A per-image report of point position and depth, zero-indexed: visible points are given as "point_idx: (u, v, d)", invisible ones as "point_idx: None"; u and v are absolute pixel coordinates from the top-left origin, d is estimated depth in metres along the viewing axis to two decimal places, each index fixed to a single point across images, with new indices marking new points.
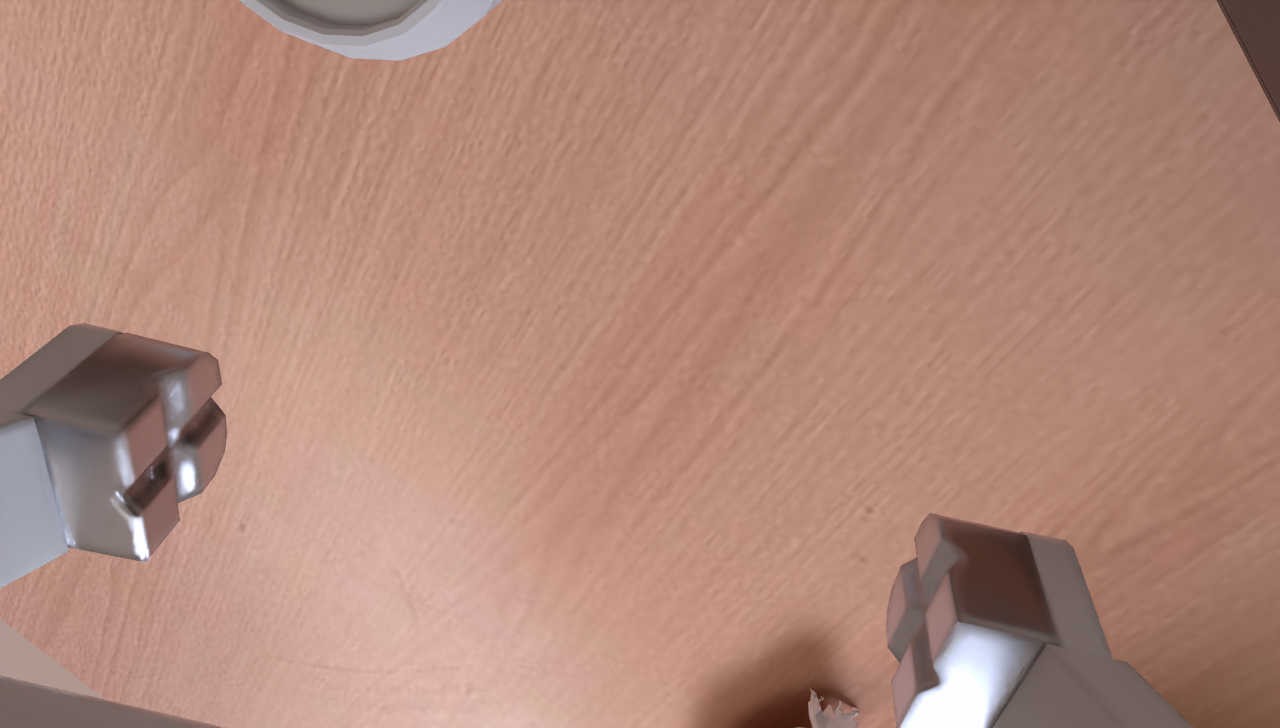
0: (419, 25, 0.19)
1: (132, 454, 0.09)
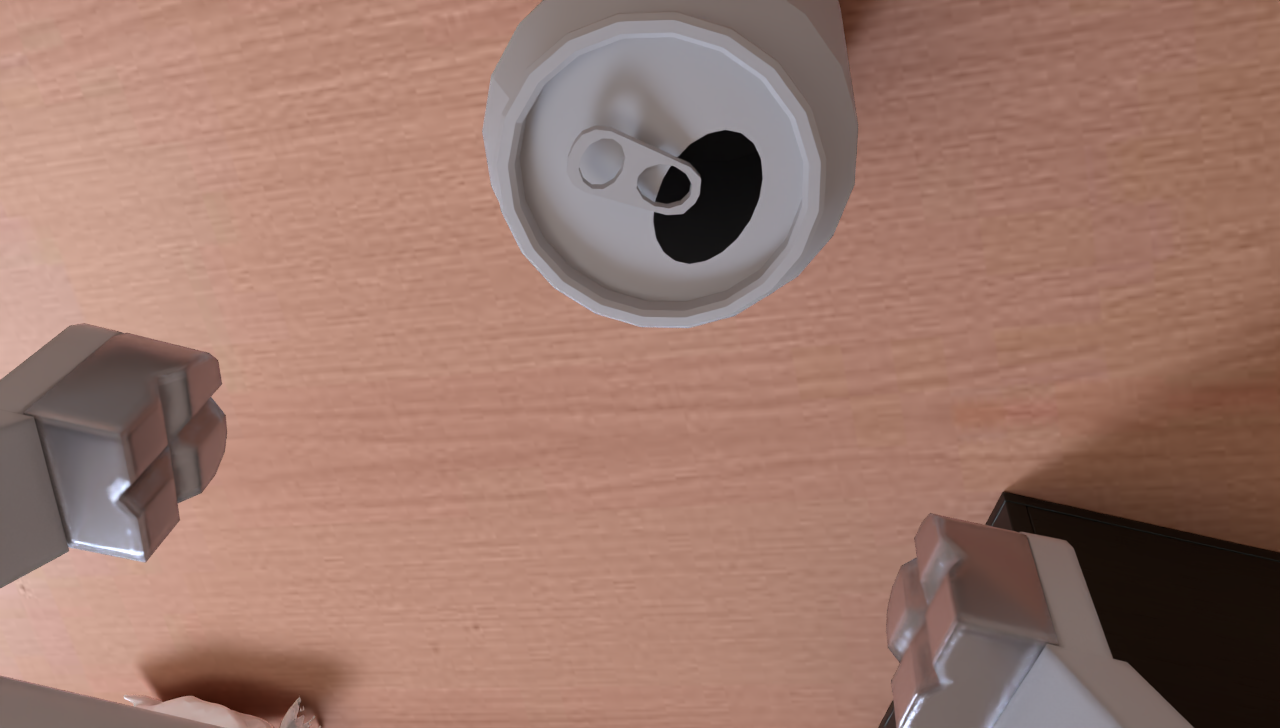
0: (614, 318, 0.19)
1: (133, 455, 0.09)
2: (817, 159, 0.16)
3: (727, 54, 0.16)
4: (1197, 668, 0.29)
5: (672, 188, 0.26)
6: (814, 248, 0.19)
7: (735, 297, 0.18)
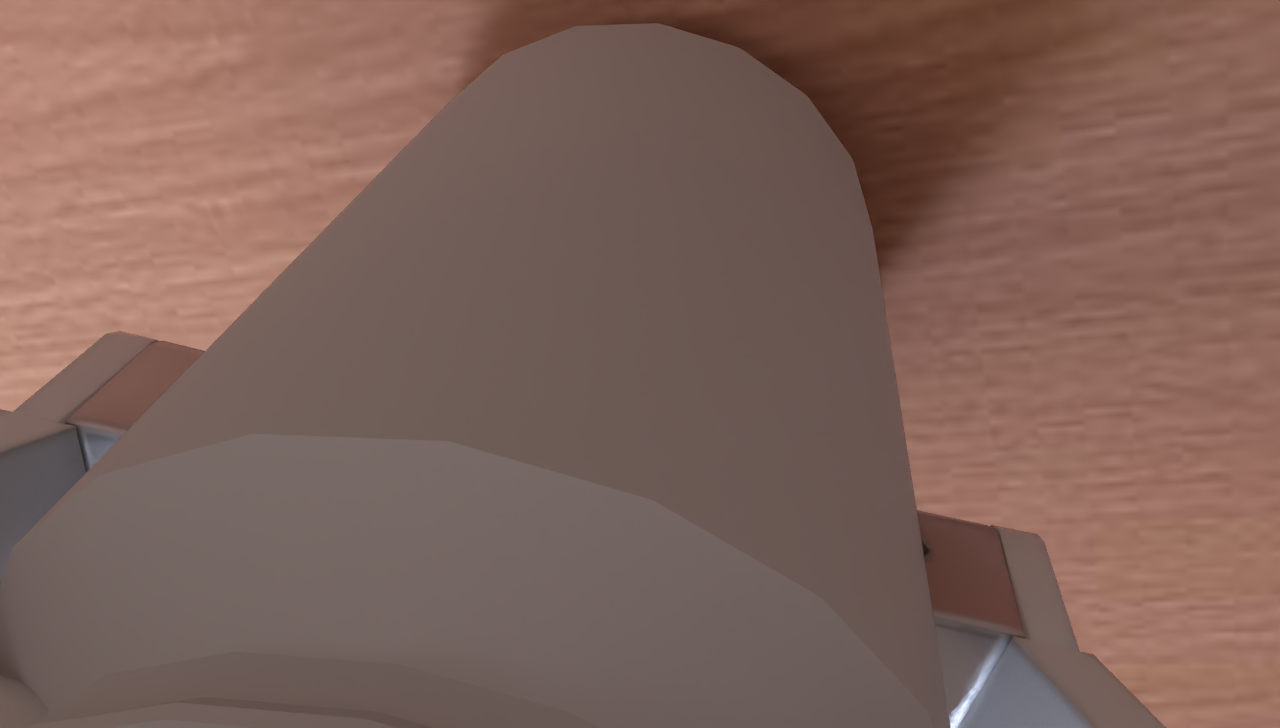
0: None
1: None
2: None
3: None
4: None
5: None
6: None
7: None
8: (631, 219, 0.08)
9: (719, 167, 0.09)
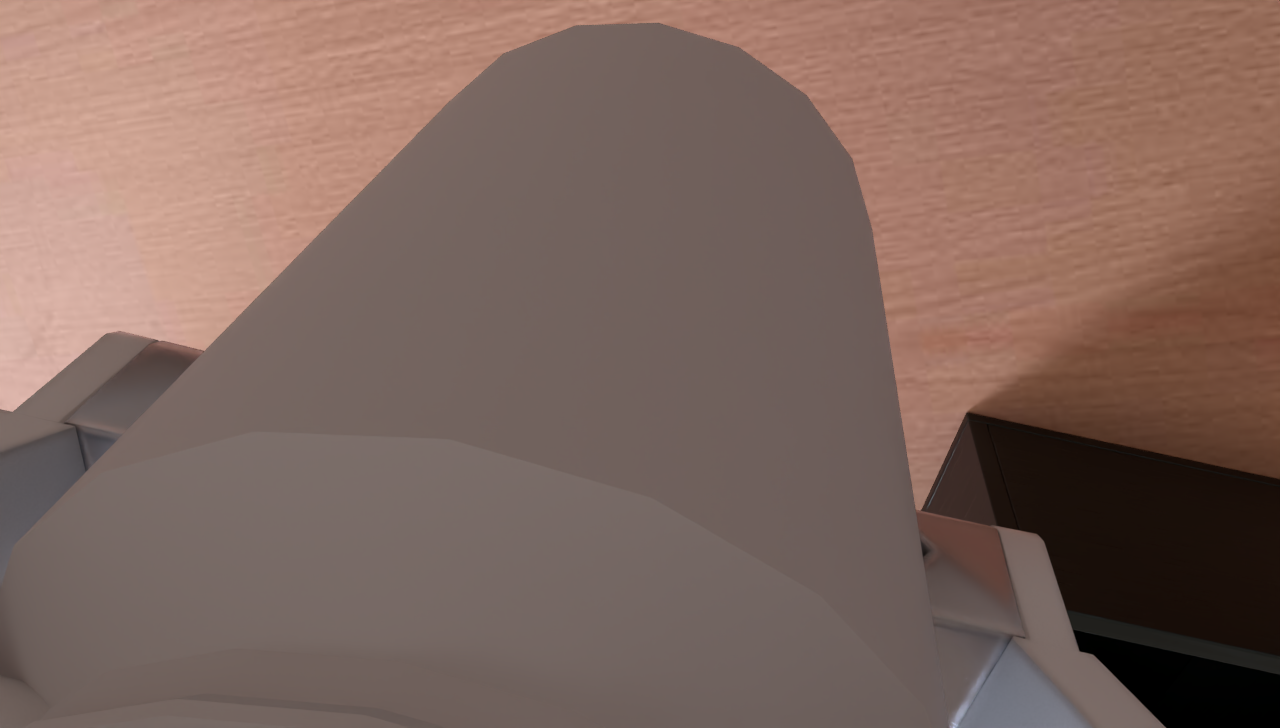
0: None
1: None
2: None
3: None
4: (1131, 550, 0.33)
5: None
6: None
7: None
8: (631, 218, 0.08)
9: (719, 166, 0.09)
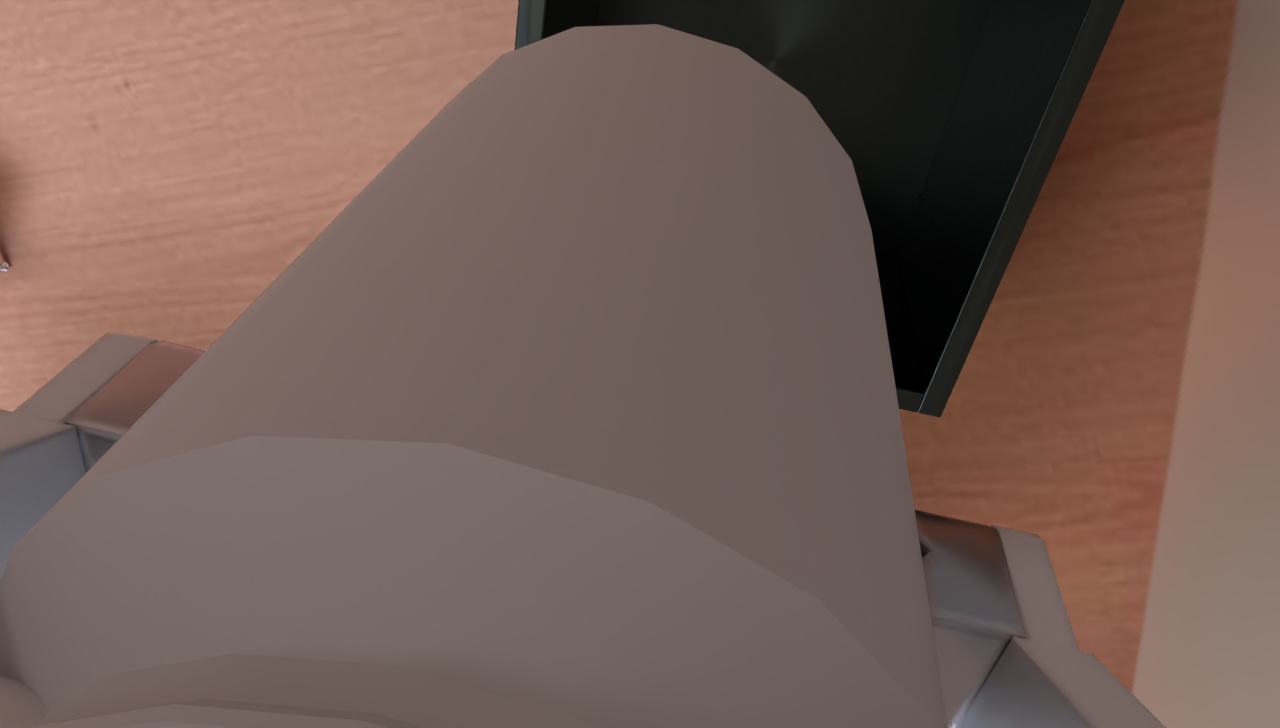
0: None
1: None
2: None
3: None
4: None
5: None
6: None
7: None
8: (630, 221, 0.08)
9: (718, 169, 0.09)
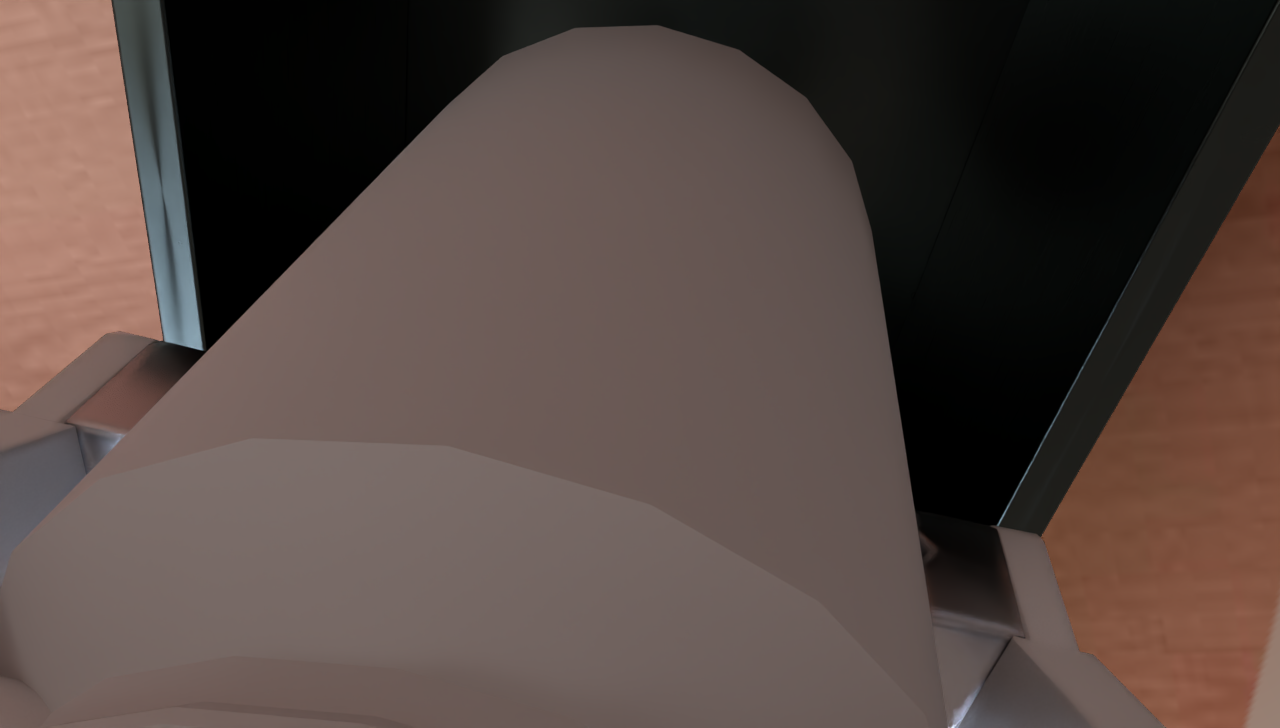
0: None
1: None
2: None
3: None
4: None
5: None
6: None
7: None
8: (631, 223, 0.08)
9: (719, 170, 0.09)
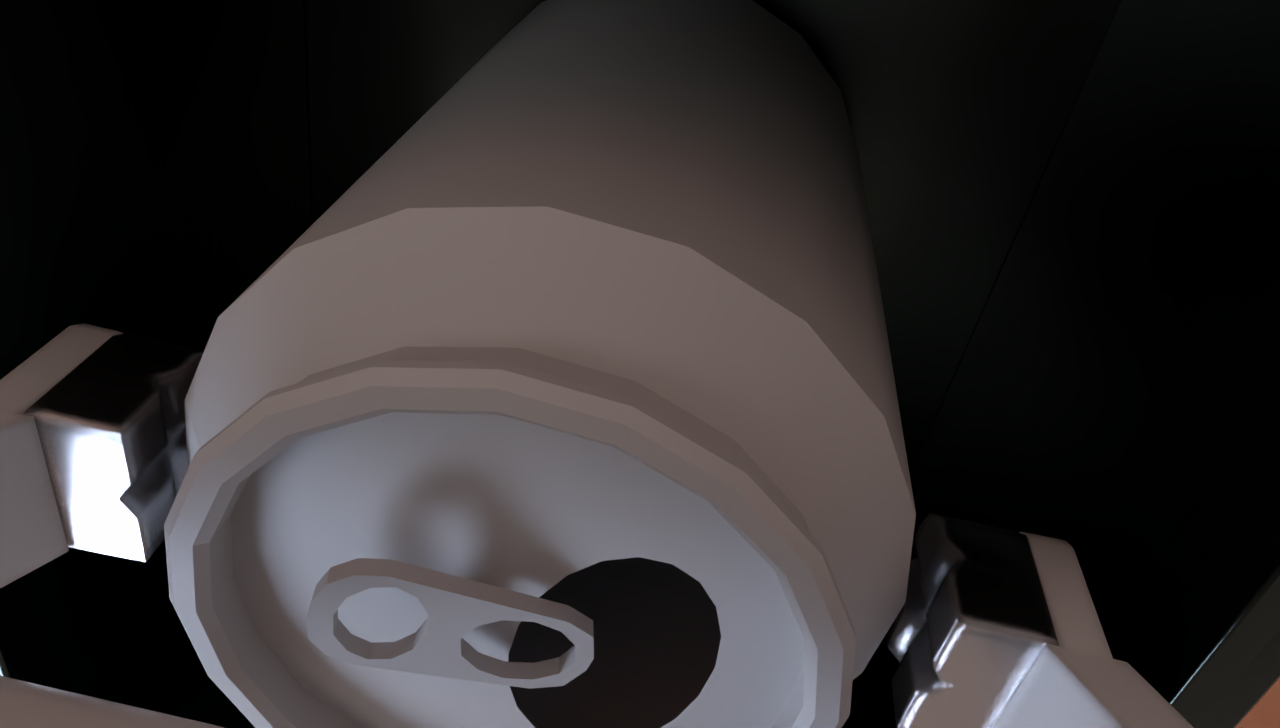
0: None
1: (132, 454, 0.09)
2: (836, 644, 0.08)
3: (627, 454, 0.07)
4: None
5: None
6: None
7: None
8: (661, 98, 0.10)
9: (728, 71, 0.12)
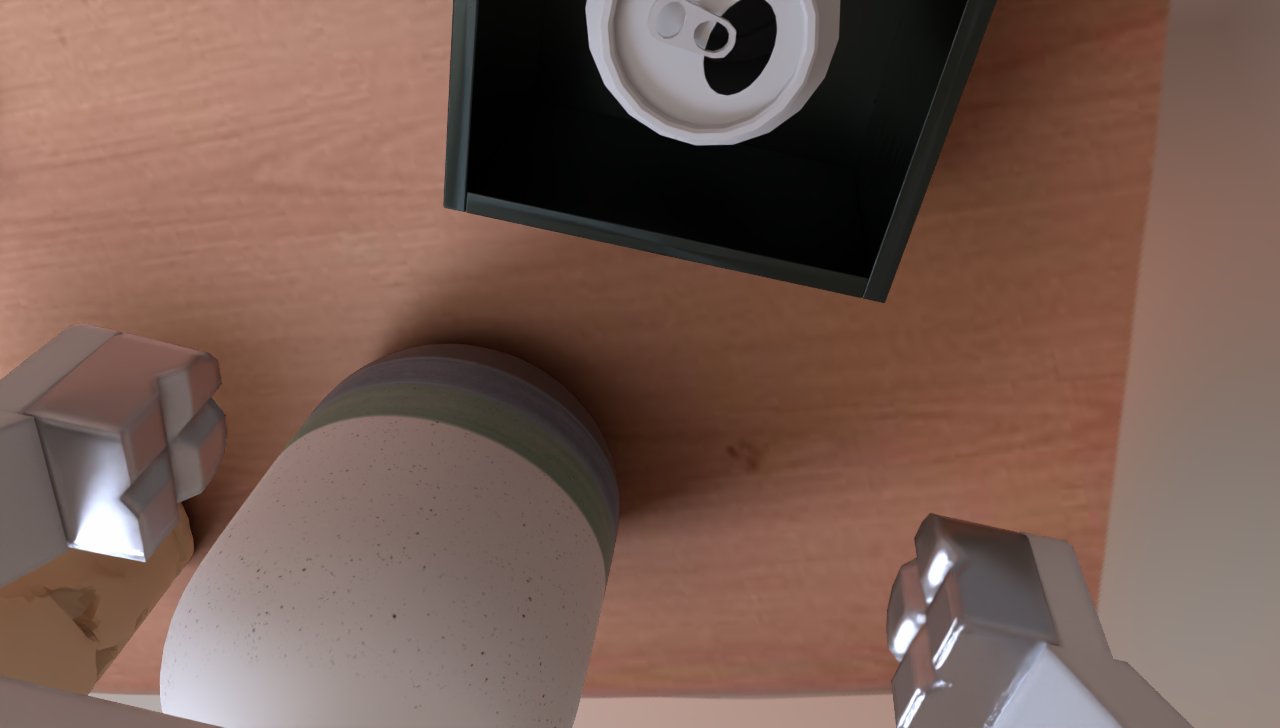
0: (675, 136, 0.28)
1: (133, 454, 0.09)
2: (813, 12, 0.25)
3: None
4: None
5: (706, 77, 0.35)
6: (812, 86, 0.28)
7: (759, 116, 0.27)
8: None
9: None
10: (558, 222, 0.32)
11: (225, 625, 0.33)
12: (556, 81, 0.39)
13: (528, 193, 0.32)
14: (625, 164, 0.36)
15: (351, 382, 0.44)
